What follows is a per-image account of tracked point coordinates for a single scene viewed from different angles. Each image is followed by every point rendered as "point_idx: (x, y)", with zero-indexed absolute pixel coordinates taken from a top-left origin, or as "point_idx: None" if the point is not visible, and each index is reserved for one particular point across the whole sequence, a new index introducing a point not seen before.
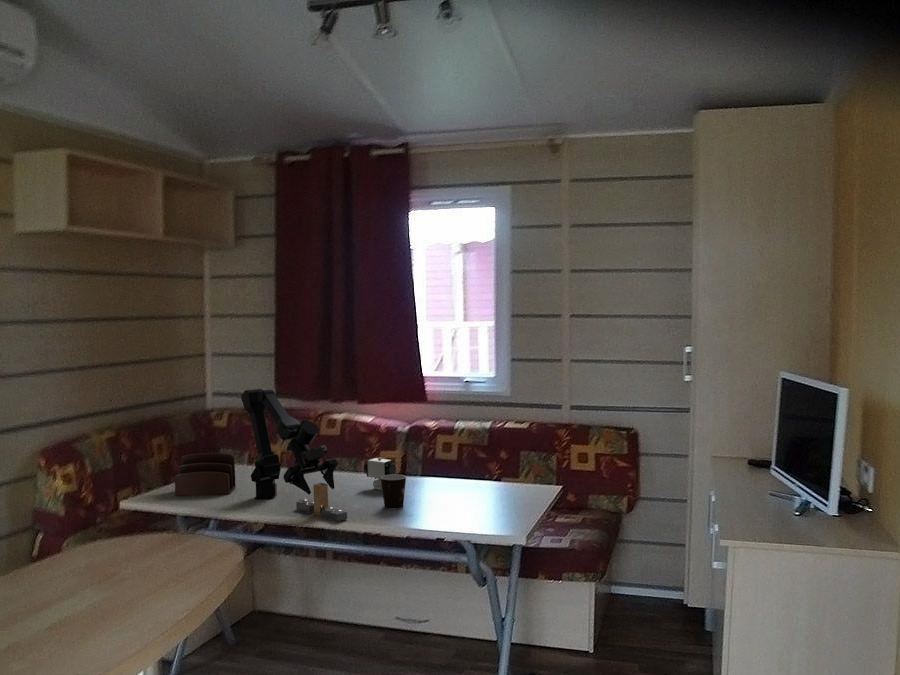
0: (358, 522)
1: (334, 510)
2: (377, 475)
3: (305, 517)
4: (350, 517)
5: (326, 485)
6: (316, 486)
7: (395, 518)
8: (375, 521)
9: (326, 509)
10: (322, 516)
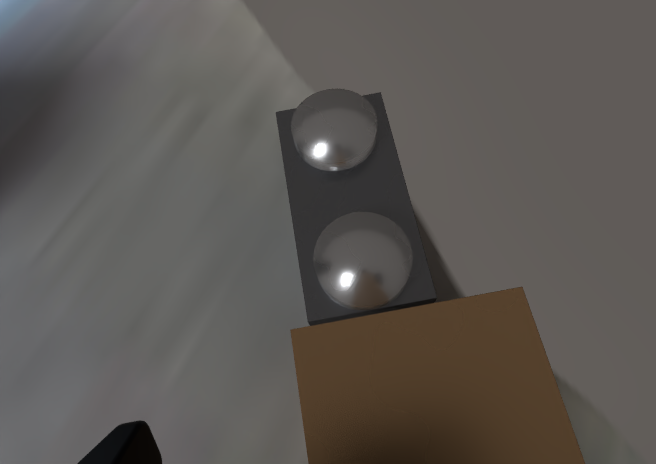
0: (256, 66)
1: (368, 141)
2: None
3: None
4: (230, 194)
5: (325, 328)
6: (559, 420)
7: (37, 30)
8: (163, 35)
9: (407, 243)
10: None
